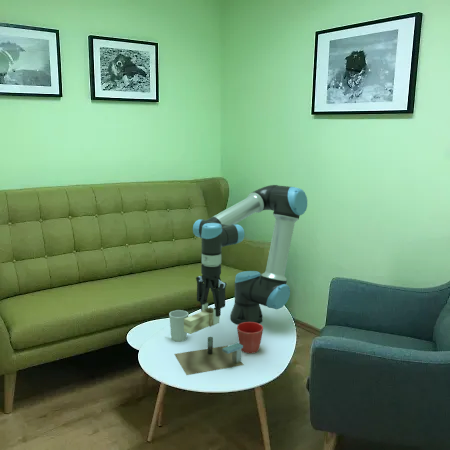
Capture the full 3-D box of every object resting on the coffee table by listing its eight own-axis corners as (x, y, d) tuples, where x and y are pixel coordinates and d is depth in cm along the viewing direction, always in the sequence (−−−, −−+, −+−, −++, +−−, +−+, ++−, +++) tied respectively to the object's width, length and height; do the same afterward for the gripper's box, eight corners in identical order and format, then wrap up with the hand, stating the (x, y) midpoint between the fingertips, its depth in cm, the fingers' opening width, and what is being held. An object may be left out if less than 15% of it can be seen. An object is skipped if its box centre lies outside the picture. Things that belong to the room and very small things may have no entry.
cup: (185, 345, 193) (185, 318, 191) (166, 343, 195) (166, 316, 192) (190, 337, 201) (190, 311, 198) (172, 335, 202) (172, 309, 200)
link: (191, 334, 171) (191, 322, 170) (182, 330, 174) (182, 318, 173) (219, 322, 182) (219, 310, 181) (209, 319, 185) (210, 307, 184)
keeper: (221, 365, 175) (222, 348, 174) (236, 359, 180) (237, 342, 179) (227, 368, 173) (227, 351, 172) (242, 362, 178) (243, 345, 177)
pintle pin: (211, 351, 186) (211, 336, 185) (213, 353, 184) (213, 338, 183) (206, 352, 185) (207, 337, 184) (208, 354, 184) (208, 339, 182)
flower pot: (232, 352, 188) (233, 329, 186) (241, 341, 198) (242, 319, 196) (257, 357, 184) (258, 334, 182) (265, 345, 194) (266, 324, 192)
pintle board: (227, 347, 192) (227, 345, 192) (244, 367, 176) (244, 364, 176) (174, 356, 184) (174, 353, 184) (186, 377, 168) (186, 375, 168)
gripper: (187, 261, 180) (187, 318, 185) (223, 271, 169) (222, 331, 174) (200, 257, 186) (199, 312, 190) (236, 266, 175) (234, 324, 179)
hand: (210, 321), depth 182 cm, fingers closed on link, 5 cm apart
